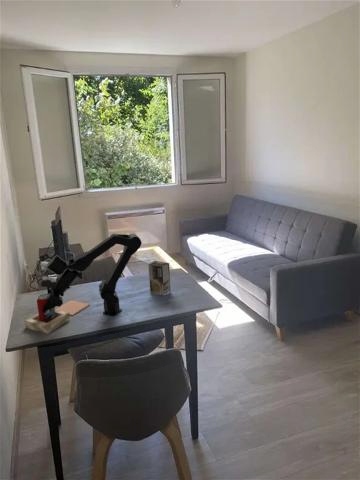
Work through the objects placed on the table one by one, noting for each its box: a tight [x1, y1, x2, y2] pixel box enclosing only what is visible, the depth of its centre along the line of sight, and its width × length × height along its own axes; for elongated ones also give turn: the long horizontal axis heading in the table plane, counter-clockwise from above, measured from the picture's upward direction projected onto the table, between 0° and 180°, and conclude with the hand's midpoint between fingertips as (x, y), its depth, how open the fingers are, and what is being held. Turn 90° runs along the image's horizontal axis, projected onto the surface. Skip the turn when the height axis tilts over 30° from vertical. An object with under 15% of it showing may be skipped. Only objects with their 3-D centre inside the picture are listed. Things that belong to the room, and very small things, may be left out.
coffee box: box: [148, 260, 171, 296], centre depth 184 cm, size 9×6×16 cm
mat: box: [55, 300, 91, 317], centre depth 172 cm, size 12×12×1 cm
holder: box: [24, 310, 71, 335], centre depth 158 cm, size 13×13×4 cm
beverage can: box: [36, 293, 56, 323], centre depth 156 cm, size 7×7×12 cm
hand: (42, 308), depth 156 cm, fingers closed on beverage can, 7 cm apart
